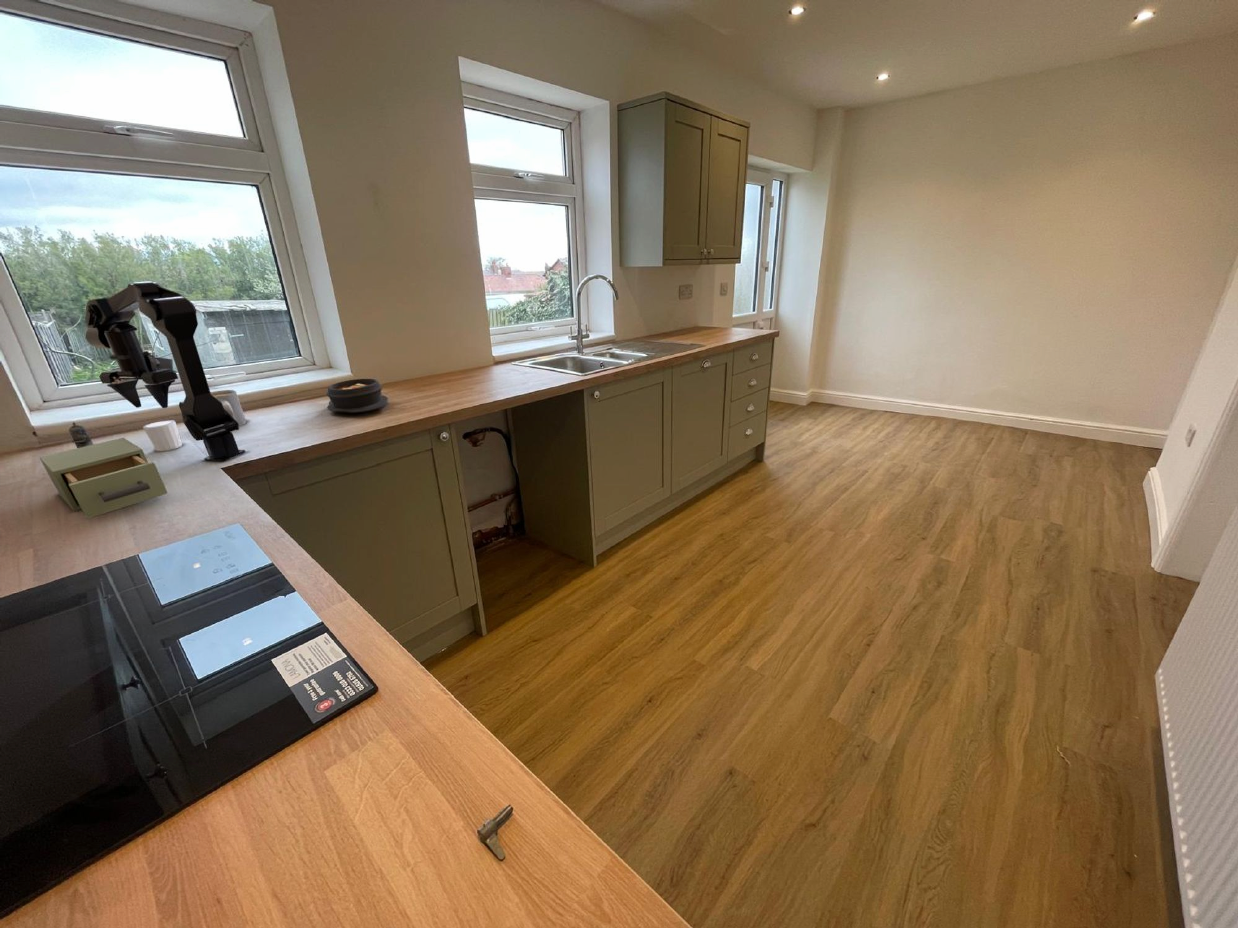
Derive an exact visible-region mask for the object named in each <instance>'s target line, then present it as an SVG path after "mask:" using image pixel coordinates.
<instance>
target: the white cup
mask: <svg viewBox="0 0 1238 928" xmlns="http://www.w3.org/2000/svg"><path fill="white" fill-rule="evenodd" d="M142 429H143V430H144V432H145V434H146V436H147V437H148V439H149V441H150V442H151V444H152V446H153V447H154V449H155V451H156V452H167V451H171V450H175V449H178V448H180V447H182V446H183V444H182V440H181V437H180V433H179V429H178V426H177V423H176V421H175V420H173V419H169V420H168V419H167V420H166V419H165V420H159V421H155V422H151V423H148V424H145V425H143V426H142Z"/></svg>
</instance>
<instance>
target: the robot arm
mask: <svg viewBox="0 0 1238 928" xmlns="http://www.w3.org/2000/svg"><path fill="white" fill-rule="evenodd" d="M137 309H138V311H139V312H140V313H141V314H143V315H144V316H145V317H147V318H148V319H149V320H150V321H151V323H152V326H153V327H154V329H156V330H157V331H159V333H161V334H162V335H163V336H164V337H165V338H166V340H167V343H168V345H169V349H170V352H171V355H172V358H173V359H172V358H165V357H159V356H157V357H156V356H155V355H154V354H151V353H150V352H149V351H148V350H143V347H142V345H141V343H140V339H139V338H138V335H137V333H136V331H138V328H137V326H135V325H133V324H131V320H132V319H133V318H134V317H135V316H136V312H135V311H136V310H137ZM197 317H198V316H197V309H196V306H195V304H194V303H193V302H192V301H190V300H189V298H187V297H185V296H184V295H182V294H181V293H180V292H176V291H174V290H171V289H169V288H166V287H162V285H160V284H159V283H158V282H153V281H140V282H139V281H136V282H131V283H128V284H127V286H126V287H125V288H123V289H121V290H119V291H118V292H116V293H114V294H113V295H111V296H108V297H99V298H91V299H88V300H87V301H86V305H85V317H84V323H85V324H86V327H87V328H88V329H87V330H86V332H85V339H86V340H85V341H87V343H88V344H89V345H90V346H92V347H95V348H97V349H105V350H107V349H108V350H110V351H111V352H112V354H111V355H110V354H109V358H110V360H115V361H116V363H117V366H118V367H119V368H117V369H111V370H106V371H101V372H100V374H99V376H98V377H99V380H100V381H101V384H106V386H107V387H109V388H111V389H112V390H113V391H115V392H116V393H117V394H119V395H120V396H121V397H122V398H124V399H125V400H127V401H128V402H129V403H130V404H131V405H133V407H135V408H136V409H137V408H141V407H142V403H141V399H140V396H139V393H138V390H137V384H138V382H139V380H142V382H144V387H145V388H146V390H147V391H148V393H150V395H151V396H152V397H153V399H154V400H155V401H156V402H157V404H158V405H159V406H160V407H161V409H167V408H168V406H169V388H170V387H171V385H172V384H173V383H175V382H176V380H179V379H180V382H181V385H182V388H183V392H184V394H185V397H184V400H182V401H179V403H178V407H179V409H180V410H179V411H180V412H181V417H182V422H183V424H184V426H185V428H186V429H187V430H188V433H189V434H190V435H191V437H192V438H193V439H194V440H195V441H196V442H198V441H203V445H204V447H205V449H206V452H207V454H208V456H205V457H204V458H203V459H204V461H211V462H212V461H213V462H226V461H228V460H230V459H233V458H235V457H237V456H240V455H242V454H245V453H246V449H239V447H238V444H237V442H236V438H235V436H234V434H233V432H234V431H239V430H240V426H239V425H238V422H237V421H236V420H235V419H234V418H233V417H232V416H231V415H230V414H229V413H228V412H227V411H226V410H225V409H224V407H223V405H222V403H221V402H220V401H219V400H218V399H216V398H215V397H214V396H213V395H212V394H211V392H212V391H211V388H210V385H209V383H208V379H207V376H206V373H205V370H204V366H203V364H202V360H201V357H200V354H199V350H198V347H197V344H196V341H195V337H194V335H195V333H196V331H197V328H198V325H199V323H198V322H199V321H198V318H197ZM173 361H174V363H173ZM174 364H175V367H176V370H177V372H176V370H174ZM177 373H178V374H177ZM220 425H223V426H220ZM216 426H219V427H216ZM213 427H216V428H213ZM210 428H213V429H210ZM209 429H210V430H209Z"/></svg>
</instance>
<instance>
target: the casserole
mask: <svg viewBox="0 0 1238 928" xmlns="http://www.w3.org/2000/svg"><path fill="white" fill-rule="evenodd" d="M382 389H383V385H382V384H381V383H380V382H379V381H378V380H377V379H375V378H357V379H348V380H343V381H340V382H337V383H334V384H331V385H329V386H328V387H327V392H326V394H325V395H326V396H327V398H329V401H328V404H327V407H326V409H327V410H328V411H331V412H336V413H339V412H340V413H343V414H344V413H345V414H358V413H364V412H368V411H369V412H371V411H374V410H378V409H382V408H384V407H387V406H388V405H389V402H388V401H389V398H388V396H386V395H383V394H382Z"/></svg>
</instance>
